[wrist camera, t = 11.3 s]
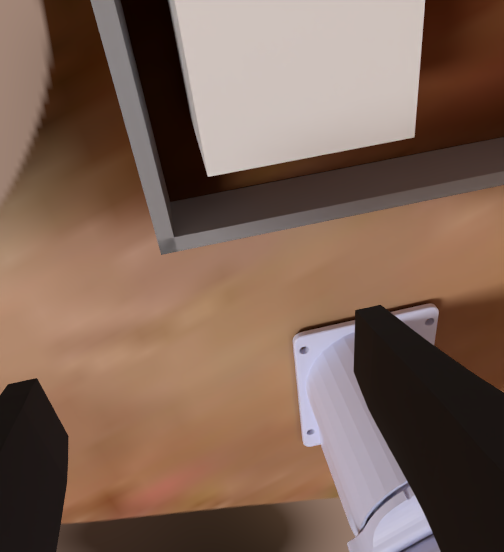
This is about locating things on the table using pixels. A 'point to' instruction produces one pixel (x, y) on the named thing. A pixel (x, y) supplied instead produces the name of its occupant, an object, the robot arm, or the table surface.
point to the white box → (297, 76)
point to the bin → (286, 193)
